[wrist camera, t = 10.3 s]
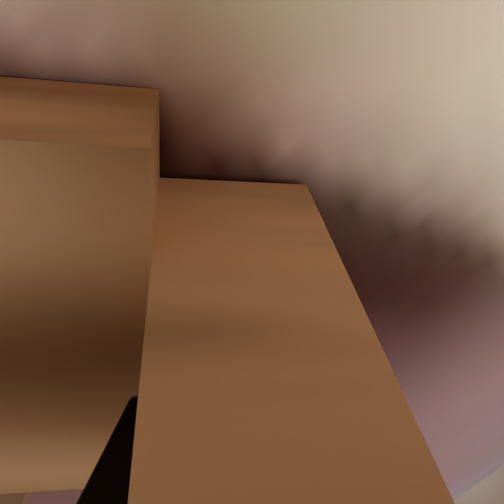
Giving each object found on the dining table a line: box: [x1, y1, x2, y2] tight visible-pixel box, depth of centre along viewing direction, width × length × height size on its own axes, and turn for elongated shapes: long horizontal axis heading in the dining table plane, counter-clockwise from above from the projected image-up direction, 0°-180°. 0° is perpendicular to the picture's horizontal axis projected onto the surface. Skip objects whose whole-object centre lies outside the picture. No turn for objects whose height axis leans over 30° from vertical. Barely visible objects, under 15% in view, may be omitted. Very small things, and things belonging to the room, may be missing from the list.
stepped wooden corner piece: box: [0, 76, 455, 504], centre depth 8 cm, size 10×8×9 cm
